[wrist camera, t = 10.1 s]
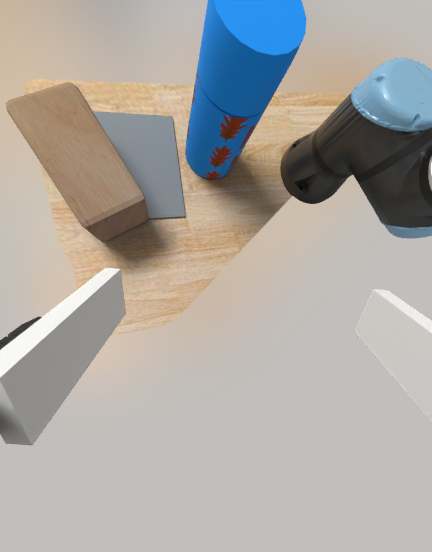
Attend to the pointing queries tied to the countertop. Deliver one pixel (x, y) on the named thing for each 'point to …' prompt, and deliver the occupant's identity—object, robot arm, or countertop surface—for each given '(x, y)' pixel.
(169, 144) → the mat
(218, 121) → the thermos
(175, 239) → the countertop surface
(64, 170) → the block
